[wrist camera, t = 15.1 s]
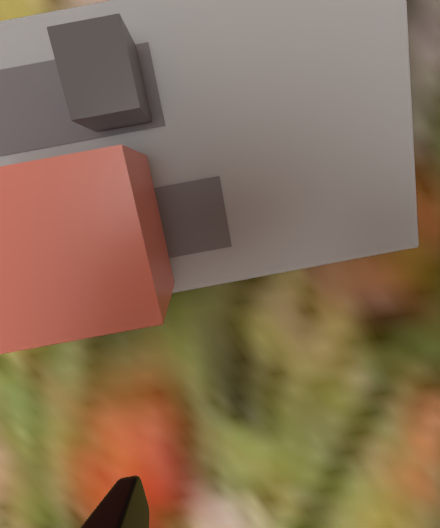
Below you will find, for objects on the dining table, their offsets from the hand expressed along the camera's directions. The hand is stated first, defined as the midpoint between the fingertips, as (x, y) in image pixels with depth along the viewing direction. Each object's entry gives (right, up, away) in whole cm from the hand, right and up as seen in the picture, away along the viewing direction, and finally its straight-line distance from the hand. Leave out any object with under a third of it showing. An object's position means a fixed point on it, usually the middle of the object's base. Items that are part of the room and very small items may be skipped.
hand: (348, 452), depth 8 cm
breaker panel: (-5, +9, +10) cm, 14 cm away
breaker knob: (-7, +11, +8) cm, 16 cm away
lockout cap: (-9, +5, +9) cm, 14 cm away
